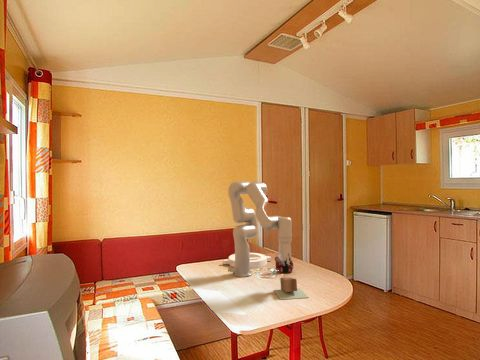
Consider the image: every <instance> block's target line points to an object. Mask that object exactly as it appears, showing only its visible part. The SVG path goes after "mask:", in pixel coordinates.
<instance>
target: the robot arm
mask: <svg viewBox="0 0 480 360" xmlns="http://www.w3.org/2000/svg"><path fill="white" fill-rule="evenodd" d="M227 189H228V196H229V197H228V198H229V200H230V206H231V212H232V217H233V221H234V222H235V223H236V224H240V225H237V226H235V227H234V228H233V229H232V235H233V240H234V254H235V266H234V267H232V268H230V267H228V268H227V272H230V273H232V275H233V276H235V277H237V278H238V277H239V278H245V277H251V276H252V275H253V271H252V270H251V268H250V253H251V251H250V248H251V247H250V244H249V242H248V240H249V239H254V238H257V236H258V234H259V227H258V223H259V225H260V226H261V227H262V229H263V230H265V231H271V230H277V232H278V233H277V242H278V251H277V255H278V256H277V257H279V259H281V260H282V272H283V273H282V274H290V273H289V265H290V264H289V262H290V261H291V260H292V246H291V245H292V244H291V243H292V241H293V238H292V237H293V234H292V233H293V232H292V230H293V229H292V227H293V226H292V223H293V220H292V218H291V217H288V216H280V215H271V216H268V215H267V213H266V211H265V209H264V208H265V207H266V206H267V205H268V203H269V199H268V197H267V196H266V194H267V193H268V187H267V184H266V183H265V182H263V181H252V180H244V181H243V180H235V181H233V182H231V183H230V185H229V186H228V188H227ZM241 195H248V196H249V198H250V200H251V202H252V203H253V205H254V206H255V210H254V209H253V208H251V207H245V201H244V198H243V197H242V196H241ZM243 223H244V224H243Z"/></svg>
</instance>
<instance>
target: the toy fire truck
mask: <svg viewBox="0 0 480 360" xmlns="http://www.w3.org/2000/svg"><path fill="white" fill-rule="evenodd" d="M274 261H275V270H276V271H277V270H279V271H278V273H279V274H281V273H282V274H284V273H283V272H282V260H281V259H279V257H278V256H275V257H274ZM293 269H294V263H293V260H292V259H291V261H289V273H288V274H292V272H293Z"/></svg>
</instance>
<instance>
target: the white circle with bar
mask: <svg viewBox="0 0 480 360" xmlns="http://www.w3.org/2000/svg"><path fill="white" fill-rule="evenodd" d="M270 261H272V257H271V256H268V255H267V256H266V255H265V254H263V253H258V252H250V269H258V268H262V267H265V266H266V265H267V264H268V262H270ZM222 262H223V263H222V264H224V265H229V266H231V267H232V268H234V266H235V253H232V254H231V255H229V256H228V259H223V261H222Z"/></svg>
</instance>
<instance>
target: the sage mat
mask: <svg viewBox="0 0 480 360" xmlns="http://www.w3.org/2000/svg"><path fill="white" fill-rule="evenodd" d="M273 292H274V294H275V295H276V296H277V297H278V299H279V300H280V301H283V300H296V299H297V300H298V299H299V300H300V299H309V296H308V294H306V293H305V292H304V290H303V289H301V288H298V287H297V291H291V292H286V291H283V290H281V289H273Z"/></svg>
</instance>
